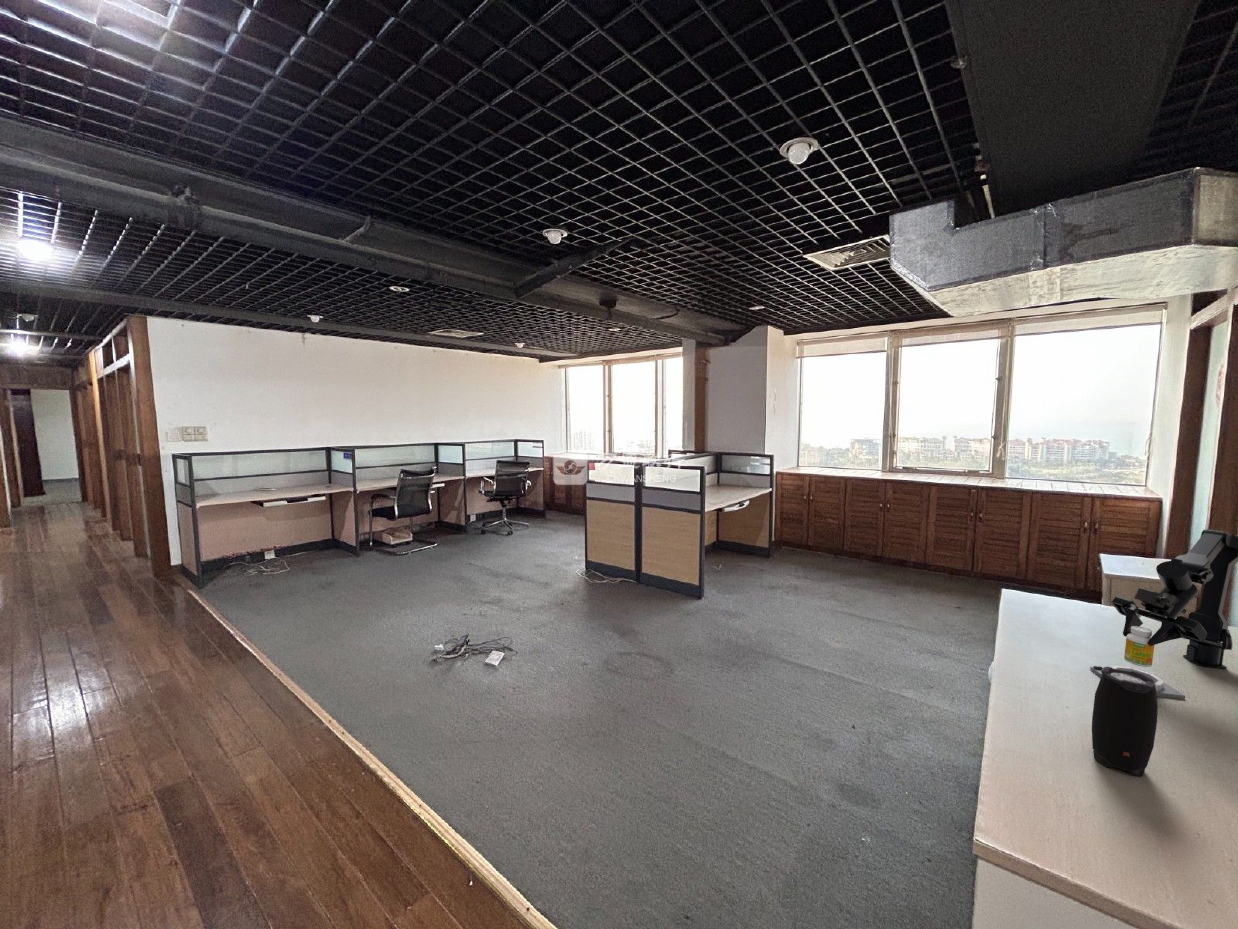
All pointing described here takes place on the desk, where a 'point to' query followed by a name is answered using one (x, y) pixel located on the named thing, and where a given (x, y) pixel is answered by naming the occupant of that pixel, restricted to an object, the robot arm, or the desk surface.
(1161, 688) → the charging dock
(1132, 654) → the supplement bottle
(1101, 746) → the portable speaker
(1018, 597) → the desk surface
